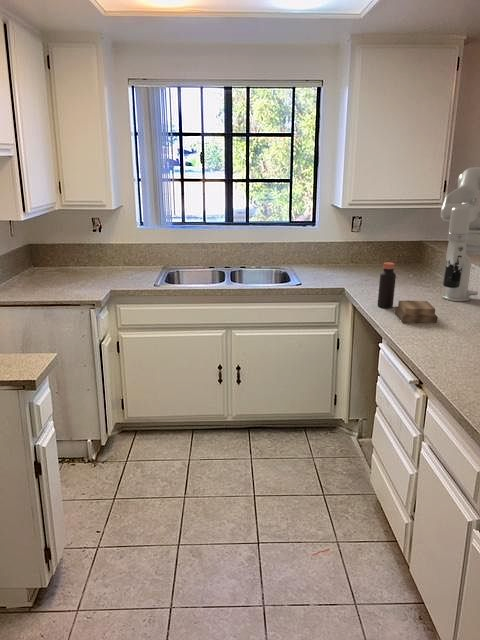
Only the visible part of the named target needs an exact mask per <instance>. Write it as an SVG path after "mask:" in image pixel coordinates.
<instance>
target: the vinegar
mask: <svg viewBox="0 0 480 640" xmlns="http://www.w3.org/2000/svg"><path fill="white" fill-rule="evenodd" d="M395 265H396V264H395V263H394V262H389V261H387V262H383V264H382V271H381V273H380V275H379V281H378V282H379V285H378V293H377V294H378V295H377V307H379V308H381V309H392V308H394V296H395V288H396V279H397V278H396V277H397V275H396V273H395V272H394V270H395Z"/></svg>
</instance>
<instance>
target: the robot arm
mask: <svg viewBox="0 0 480 640" xmlns="http://www.w3.org/2000/svg"><path fill="white" fill-rule="evenodd" d="M479 194H480V167H479V166H478V167H477V166H476V167H475V166H474V167H468V168H466V169H465V170H464V171H463V172H462V173H460V174H459V175H458V177H457V188H456V189H454V190H452V191H451V192H450V193H448V194H446V196H445V197H444V199H443V202H442V205H441V210H440V218H441V219H442V221H444V222H449V225H448V234H447V241H448V244H447V248H446V255H445V256H446V257H445V259H446V265H447V264H449V262H448V261H449V260H450V264H452V265H453V272H452V278H451V281H452V282H459V281H460V273H461V269H462V275H461V281H460V286H459V287H458V288H448V287H445V292H444V293H441V298H442V299H444V300H448V301H451V302H467V301H469V300H471V296H478V291H477V290H475V291H474V290H470V289H469V282H470V275H471V270H472V269H471V268H472V260H471V258H470V257H469V256H468V255H469V254H470V255H471V254H472V255H480V198H479V197H478V196H479ZM455 264H458V265H455Z"/></svg>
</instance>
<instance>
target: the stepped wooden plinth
mask: <svg viewBox="0 0 480 640" xmlns="http://www.w3.org/2000/svg"><path fill="white" fill-rule="evenodd" d="M397 303H398V304H397V305H398V306H394V314H395V315H397V316H396V317H397V318H398V319H399V321H400V320H401V321H400V322H401V324H418V323H437V324H438V315H436V308H435V307H434V306H433V305H432V304H431V303H430V302H428V300H398V302H397Z"/></svg>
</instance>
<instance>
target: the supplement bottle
mask: <svg viewBox="0 0 480 640" xmlns="http://www.w3.org/2000/svg"><path fill="white" fill-rule="evenodd" d="M448 262H449V264H447V263H446V265H445V266H444V273H443V280H442V286H444V287H445V288H446V287H448V288H458V287H459V286H460V281H461V275H462V269H461V273H460V281H459V282H452V281H451V278H452V272H453V265H452V264H450V260H449V261H448ZM455 265H458V264H455Z"/></svg>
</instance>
